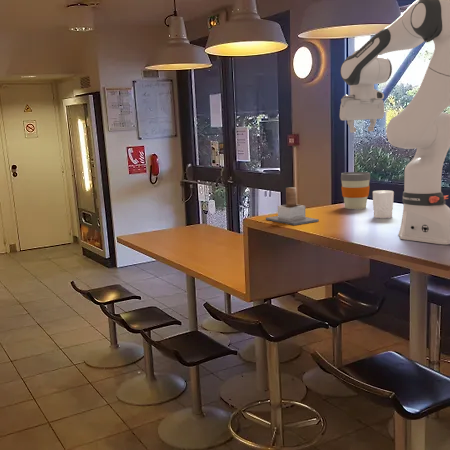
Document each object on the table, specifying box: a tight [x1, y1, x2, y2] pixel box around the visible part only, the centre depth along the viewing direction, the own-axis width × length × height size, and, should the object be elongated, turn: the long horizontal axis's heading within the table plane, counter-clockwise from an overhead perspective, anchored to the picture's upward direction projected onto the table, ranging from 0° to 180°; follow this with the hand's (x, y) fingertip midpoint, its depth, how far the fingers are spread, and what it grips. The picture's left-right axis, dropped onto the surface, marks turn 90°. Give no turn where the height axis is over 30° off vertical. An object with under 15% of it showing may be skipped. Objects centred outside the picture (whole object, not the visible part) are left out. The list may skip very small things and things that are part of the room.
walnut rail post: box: [285, 186, 298, 207], centre depth 216 cm, size 4×4×12 cm
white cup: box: [372, 189, 395, 219], centre depth 216 cm, size 8×8×10 cm
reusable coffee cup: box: [340, 171, 371, 210], centre depth 241 cm, size 12×13×15 cm
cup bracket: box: [265, 204, 319, 226], centre depth 217 cm, size 18×12×6 cm, turn 32°
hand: (362, 132), depth 212 cm, fingers open, 8 cm apart
